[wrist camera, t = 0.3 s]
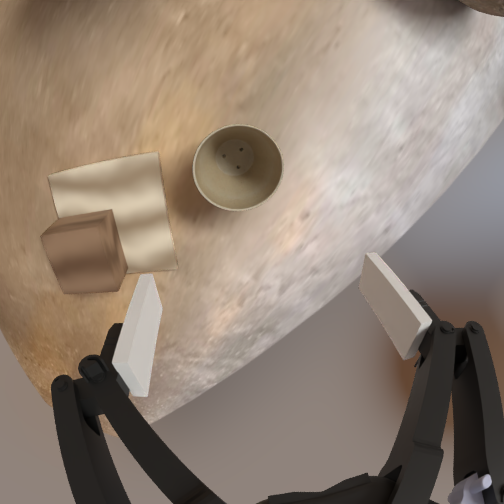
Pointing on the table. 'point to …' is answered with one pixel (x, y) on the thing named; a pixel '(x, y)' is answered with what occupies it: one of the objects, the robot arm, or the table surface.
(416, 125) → the table surface
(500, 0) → the bowl
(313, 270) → the table surface
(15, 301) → the table surface
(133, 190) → the board
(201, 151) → the flower pot
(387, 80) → the table surface
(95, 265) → the pedestal
